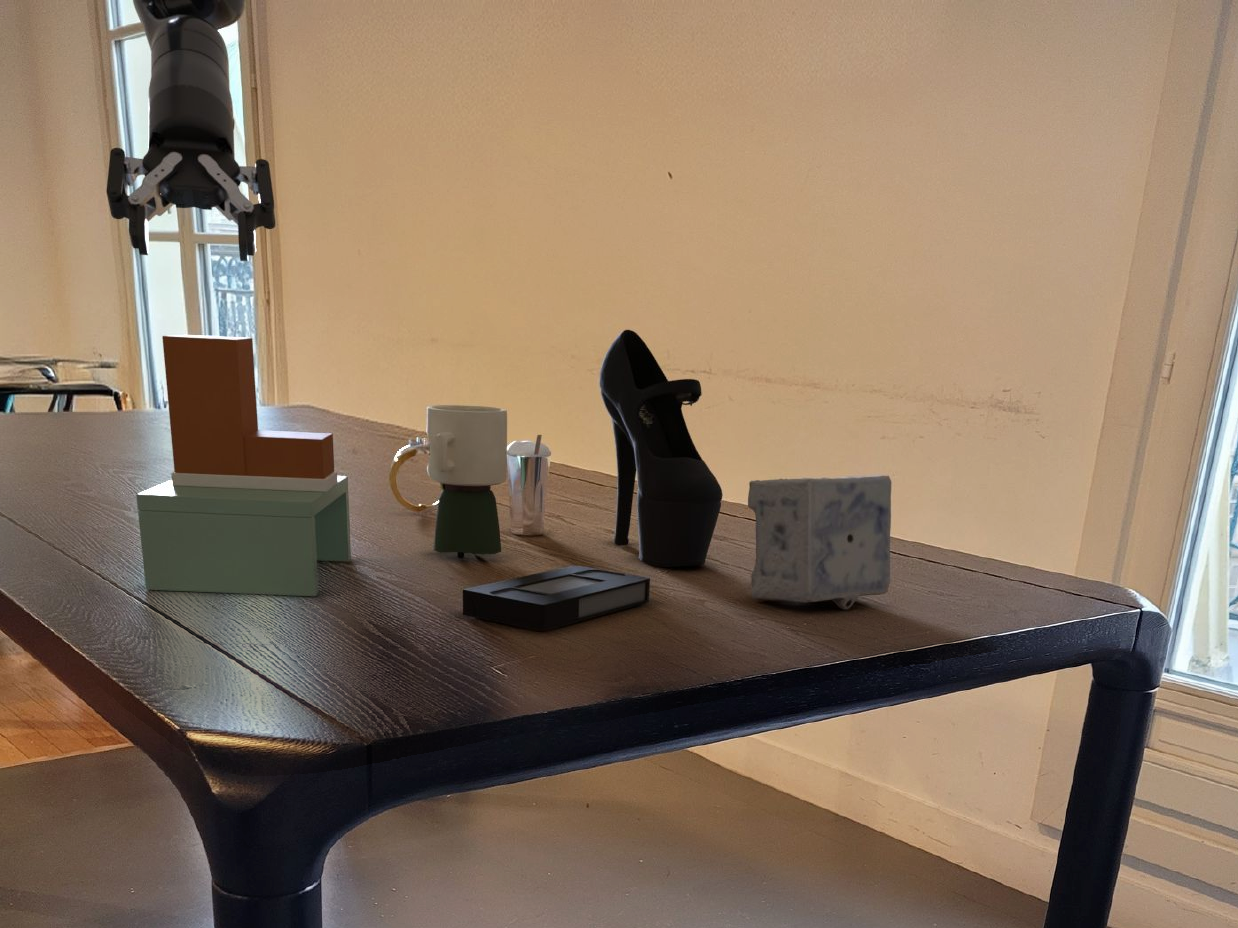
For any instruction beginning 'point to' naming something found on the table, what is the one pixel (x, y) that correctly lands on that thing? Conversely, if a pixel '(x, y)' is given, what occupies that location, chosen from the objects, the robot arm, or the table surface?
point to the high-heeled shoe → (657, 458)
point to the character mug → (467, 475)
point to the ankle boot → (233, 423)
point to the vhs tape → (555, 597)
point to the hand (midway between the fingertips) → (193, 250)
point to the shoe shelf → (241, 538)
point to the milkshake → (528, 485)
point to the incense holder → (821, 538)
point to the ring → (398, 460)
